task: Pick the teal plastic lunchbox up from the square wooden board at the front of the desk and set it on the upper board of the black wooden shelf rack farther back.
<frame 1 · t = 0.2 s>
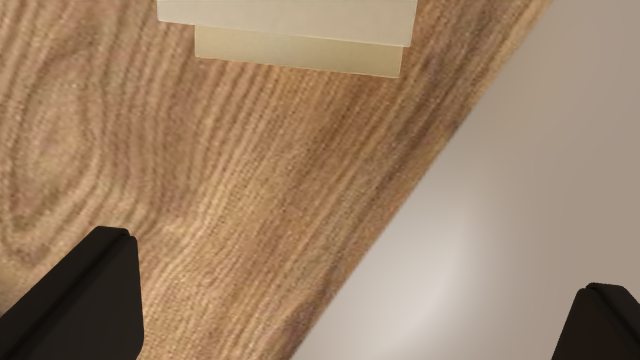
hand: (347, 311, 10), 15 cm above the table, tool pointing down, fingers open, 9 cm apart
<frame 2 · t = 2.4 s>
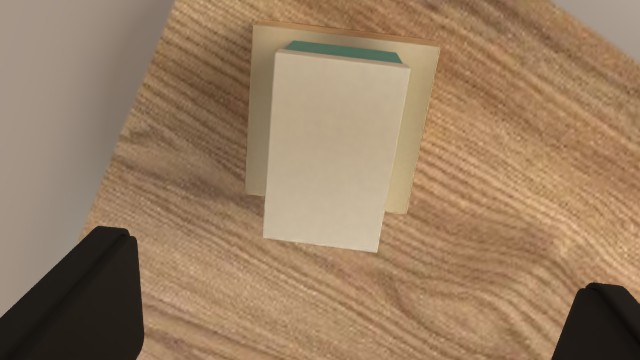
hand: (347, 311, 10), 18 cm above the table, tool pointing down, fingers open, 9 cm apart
square wooden board: (337, 111, 26), on the table
lunchbox: (334, 126, 24), point 3 cm above the table, touching square wooden board
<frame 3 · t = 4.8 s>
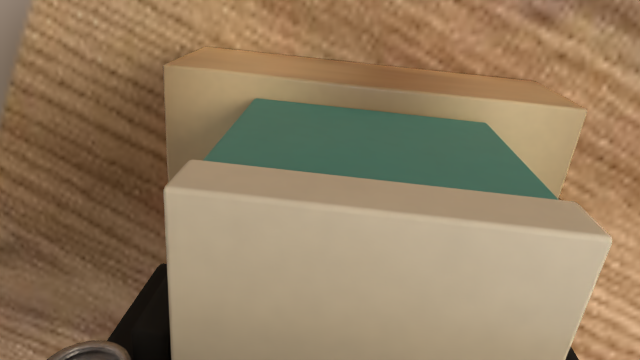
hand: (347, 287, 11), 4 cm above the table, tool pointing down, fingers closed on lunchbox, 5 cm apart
square wooden board: (349, 211, 14), on the table
lunchbox: (348, 266, 11), point 3 cm above the table, touching gripper, square wooden board
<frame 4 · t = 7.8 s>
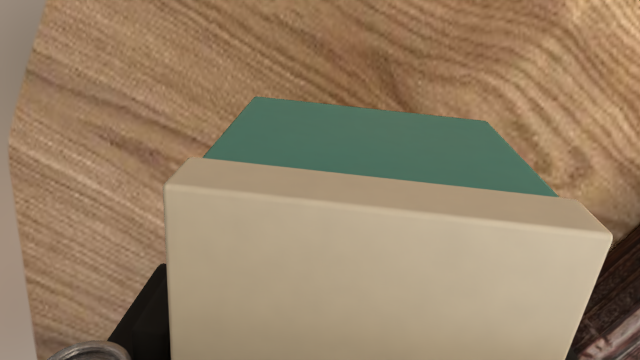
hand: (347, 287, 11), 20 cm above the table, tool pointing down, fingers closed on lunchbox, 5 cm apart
lunchbox: (348, 265, 11), point 19 cm above the table, touching gripper
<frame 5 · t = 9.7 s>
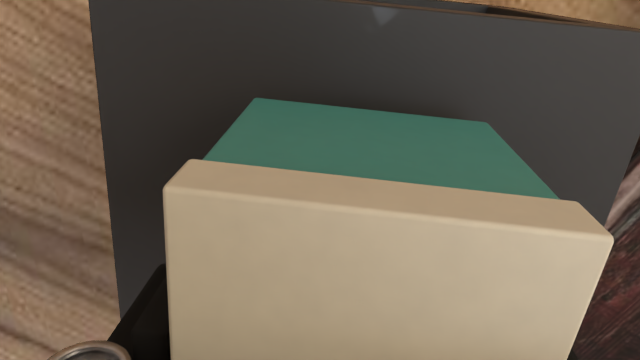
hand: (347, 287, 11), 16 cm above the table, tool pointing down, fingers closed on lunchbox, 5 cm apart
lunchbox: (348, 266, 11), point 15 cm above the table, touching gripper
shelf rack: (350, 111, 25), on the table
when the fingers open (14 cm above the table, at t = 10.8 s): lunchbox stays where it is, resting on shelf rack.
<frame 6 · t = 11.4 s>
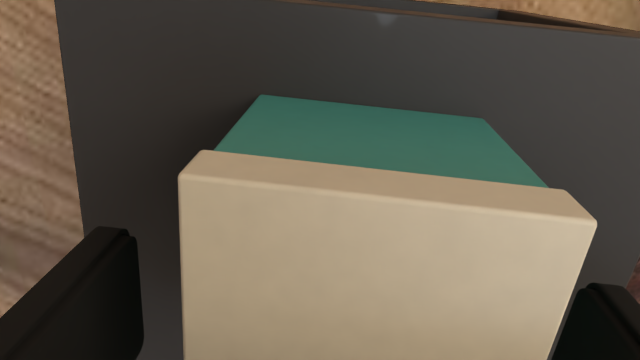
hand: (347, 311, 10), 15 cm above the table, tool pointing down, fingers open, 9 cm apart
lunchbox: (349, 258, 12), point 13 cm above the table, touching shelf rack
shelf rack: (351, 120, 24), on the table
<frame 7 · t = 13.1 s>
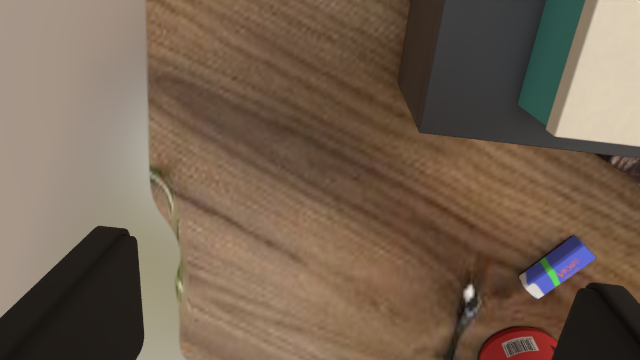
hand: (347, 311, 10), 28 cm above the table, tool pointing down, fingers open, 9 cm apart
canned food: (516, 354, 45), on the table
eraser: (550, 259, 41), on the table
lunchbox: (594, 26, 21), point 13 cm above the table, touching shelf rack
shelf rack: (508, 11, 33), on the table
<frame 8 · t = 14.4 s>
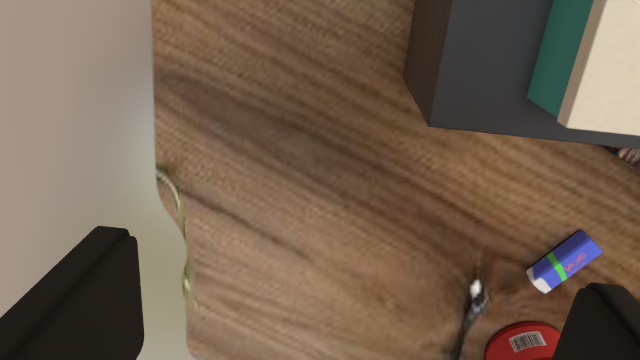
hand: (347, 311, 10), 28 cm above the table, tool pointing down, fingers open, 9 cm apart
canned food: (523, 349, 45), on the table
eraser: (556, 254, 41), on the table
lunchbox: (603, 17, 21), point 13 cm above the table, touching shelf rack
shelf rack: (513, 5, 33), on the table
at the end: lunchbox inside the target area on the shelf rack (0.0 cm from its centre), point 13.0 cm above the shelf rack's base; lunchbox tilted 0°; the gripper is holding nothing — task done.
